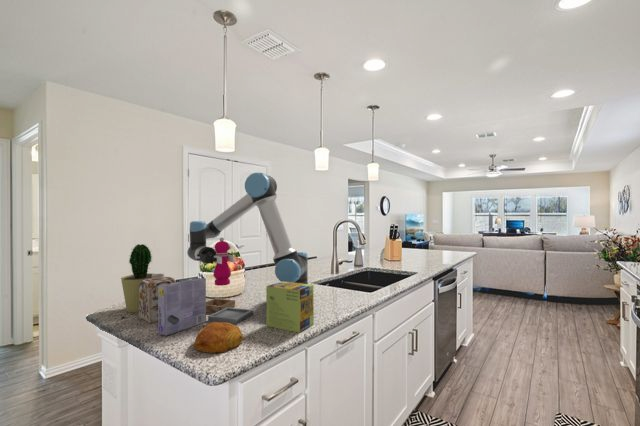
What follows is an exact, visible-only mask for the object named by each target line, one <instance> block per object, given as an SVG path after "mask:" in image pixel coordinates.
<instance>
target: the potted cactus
mask: <svg viewBox="0 0 640 426" xmlns="http://www.w3.org/2000/svg"><path fill="white" fill-rule="evenodd" d="M131 250H132V251H131V252H130V255H129V259H128V260H129V261H128V264H130V266H129V267H130V268H131V272H132V274H129V275H125V276H122V277H121V278H120V279H121V285H122V291H123V297H124V301H125V308H126V312H127V311H128V313H139V285H140V283H141V282H142V281H143V280H145V279H148V278H152V275H153V274H154V273H150V272H149V271H148V269H151V268H150V267H149V266H150V264H152V263H153V260H152V259H153V256H152V250H151V249H150V248H149V247H148V246H147V244H146V243H145V244H140V243H139V244H138V243H137V244H135V245H134V247H133V248H131Z"/></svg>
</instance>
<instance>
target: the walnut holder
mask: <svg viewBox="0 0 640 426" xmlns="http://www.w3.org/2000/svg"><path fill="white" fill-rule="evenodd" d="M217 305H218V306H217ZM227 307H229V308H236V300H235V299H225V298H217V297H216V298H213V299H210V300H206V313H210V312H211V313H210V314H214V313H216V312H218V311H220V310H222V309H224V308H227Z"/></svg>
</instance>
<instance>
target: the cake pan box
mask: <svg viewBox="0 0 640 426" xmlns="http://www.w3.org/2000/svg"><path fill="white" fill-rule="evenodd" d="M206 289H207V279H206V277H205V278H204V277H197V278H193V279H188V280H181V281H175V283H170V284H165V285H159V286H158V321H157V323H158V324H157V326H158V327H157V331H158V334H159V335H161V336H162V335H163V336H164V337H167V336H170V335H173V334H175V333H178V332H181V331H184V330H188V329H191V328H193V327H196V326H198V325H201V324H205V323H207V312H206V302H207V294H206V293H207V290H206Z"/></svg>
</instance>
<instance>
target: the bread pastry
mask: <svg viewBox="0 0 640 426" xmlns="http://www.w3.org/2000/svg"><path fill="white" fill-rule="evenodd" d="M243 337H244V336H243V333H242V331H241V329H240V327H239V326H237V325H236V324H230V323H226V322H210V323H208V324H206V326H205V327H203V328H201V329H200V330H199V331H198V332H197V334H196V336H195V340H194V343H193V345H194V349H195V350H197V351H199V352H203V353H210V354H213V353H225V352H228V351H229V349H230V350H231V349H233V347H234V348H235V347H237V346H239V345H240V344H241V343H242V342H243V339H244V338H243Z"/></svg>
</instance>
